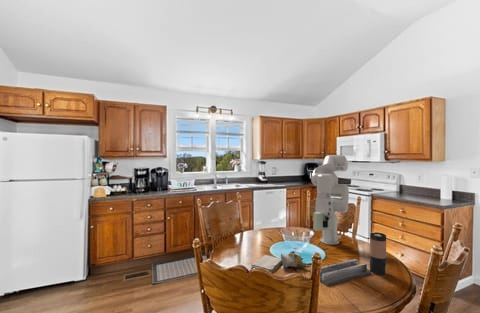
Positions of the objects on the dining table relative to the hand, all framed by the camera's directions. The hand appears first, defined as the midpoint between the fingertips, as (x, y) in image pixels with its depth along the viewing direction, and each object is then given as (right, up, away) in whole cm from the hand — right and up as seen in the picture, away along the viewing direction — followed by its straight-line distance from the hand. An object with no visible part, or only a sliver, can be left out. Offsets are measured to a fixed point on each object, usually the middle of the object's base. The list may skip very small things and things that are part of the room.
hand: (323, 226), depth 143 cm
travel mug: (+24, -20, -14) cm, 34 cm away
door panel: (0, -2, 0) cm, 2 cm away
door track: (+3, -20, -17) cm, 27 cm away
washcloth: (-34, -20, -8) cm, 40 cm away
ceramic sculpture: (-19, -20, -9) cm, 29 cm away
